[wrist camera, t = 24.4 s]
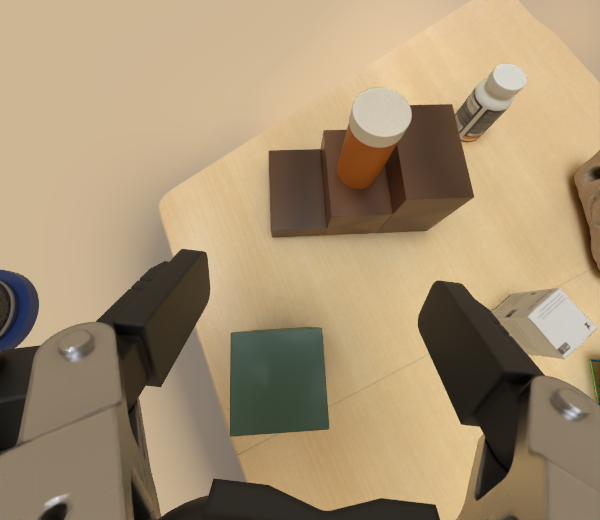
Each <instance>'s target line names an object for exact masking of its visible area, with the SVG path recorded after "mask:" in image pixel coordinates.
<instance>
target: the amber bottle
mask: <svg viewBox="0 0 600 520" xmlns="http://www.w3.org/2000/svg"><path fill="white" fill-rule="evenodd" d="M411 118H412V112H411V108H410V105H409V103H408V102H407V100H406V99H405V98H404V97H403V96H402V95H401V94H399V93H398V92H396V91H394V90H391V89H388V88H382V87H376V88H370V89H367V90H365V91H363V92H362V93H361V94H359V95H358V96H357V98H356V99H355V101H354V103H353V107H352V110H351V114H350V118H349V125H348V128H347V132H346V135H345V139H344V143H343V146H342V150H341V153H340V157H339V161H338V164H337V175H338V177H339V179H340V180H341V182H342V183H343V184H345V185H346V186H348V187H350V188H353V189H365V188H368V187H370V186H371V185H372V184H374V182H375V181H376V179H377V178H378V176H379V174H380V172H381V171H382V169H383V167H384V165H385V164H386V162H387V160H388V158H389V157H390V155H391V153H392V152H393V150H394V148H395V146H396V145H397V143H398V141H399V140H400V139H401V138H402V136H403V134H404V133H405V131H406V129H407V127H408V126H409V124H410V122H411Z"/></svg>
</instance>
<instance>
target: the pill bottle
mask: <svg viewBox="0 0 600 520" xmlns="http://www.w3.org/2000/svg"><path fill="white" fill-rule="evenodd" d="M526 80H527V79H526V75H525V73H524V72H523V71H522V69H520V68H519V67H517V66H515V65H513V64H501V65H498V66H497V67H496V68H495V69H494V70H493V71H492V72H491V73H490V75H489V76H488V78H486V79H484V80H483V81H481V82H480V83H479V84H478V85H477V86H476V88H475V89H474V90H473V92H472V93H471V94H470V95H469V97H468V98H467V99H466V101H465V102H464V103H463V105H462V106H461V107H460V109H459V110H458V111H457V113H456V114H455V119H456V123H457V127H458V131H459V135H460V139H461V140H464V141H473V140H476V139H478V138H479V137H480V136H481V135H482V134H483V133H484V132H485V131H486V130H487V129H488V128H489V127H490V126H491V125H492V124H493V123H494V122H495V121H496V120H497V119H498V118H499V117H500V116H501V115H502V114H503V113H504V112H505V111H506V110H507V109H508V108H509V107H510V105H511V104H512V102H513V100H514V95H516V94H517V93H518V92H519V91H520V90H521V89H522V88H523V87H524V86H525V84H526Z"/></svg>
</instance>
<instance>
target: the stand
mask: <svg viewBox="0 0 600 520" xmlns="http://www.w3.org/2000/svg"><path fill="white" fill-rule="evenodd" d="M327 429H329V419H328V405H327V391H326V377H325V363H324V350H323V336H322V328H318V327H302V328H284V329H267V330H252V331H243V332H234V333H231V369H230V436H244V435H258V434H272V433H286V432H299V431H313V430H327Z"/></svg>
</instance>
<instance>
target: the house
mask: <svg viewBox="0 0 600 520" xmlns="http://www.w3.org/2000/svg"><path fill="white" fill-rule="evenodd" d="M591 361H596V362H600V360H590V364H591V370H592V375H593V381H594V387H595V392H596V398H597V404H598V405H600V403H599V402H598V396H597V393H599V392H597V391H596V385H595V380H596V379H594V374H597V373H594V374H593V369H592V363H591ZM595 368H598V367H595ZM599 381H600V380H599ZM598 387H600V386H598Z"/></svg>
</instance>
